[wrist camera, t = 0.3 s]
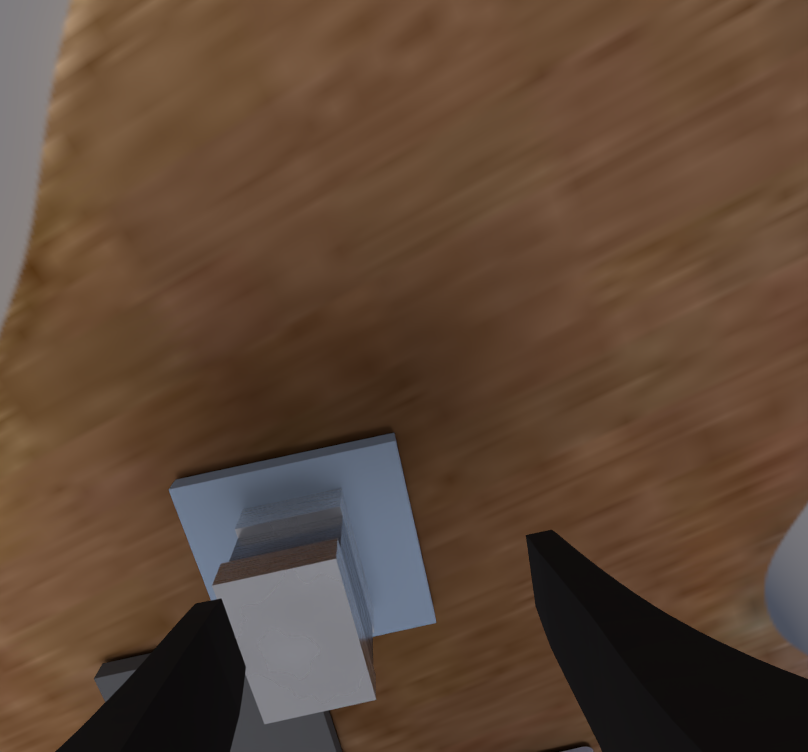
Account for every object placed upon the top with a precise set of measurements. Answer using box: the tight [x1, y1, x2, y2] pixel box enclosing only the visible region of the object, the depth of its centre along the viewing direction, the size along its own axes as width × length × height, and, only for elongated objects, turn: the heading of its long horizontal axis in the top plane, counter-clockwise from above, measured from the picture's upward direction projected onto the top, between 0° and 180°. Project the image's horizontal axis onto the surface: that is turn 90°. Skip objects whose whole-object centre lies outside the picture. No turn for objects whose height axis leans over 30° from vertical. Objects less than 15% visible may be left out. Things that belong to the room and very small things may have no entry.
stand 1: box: [169, 433, 436, 637], centre depth 22 cm, size 9×9×1 cm
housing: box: [212, 488, 376, 724], centre depth 20 cm, size 6×4×4 cm, turn 11°
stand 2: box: [94, 653, 342, 752], centre depth 25 cm, size 9×9×1 cm
